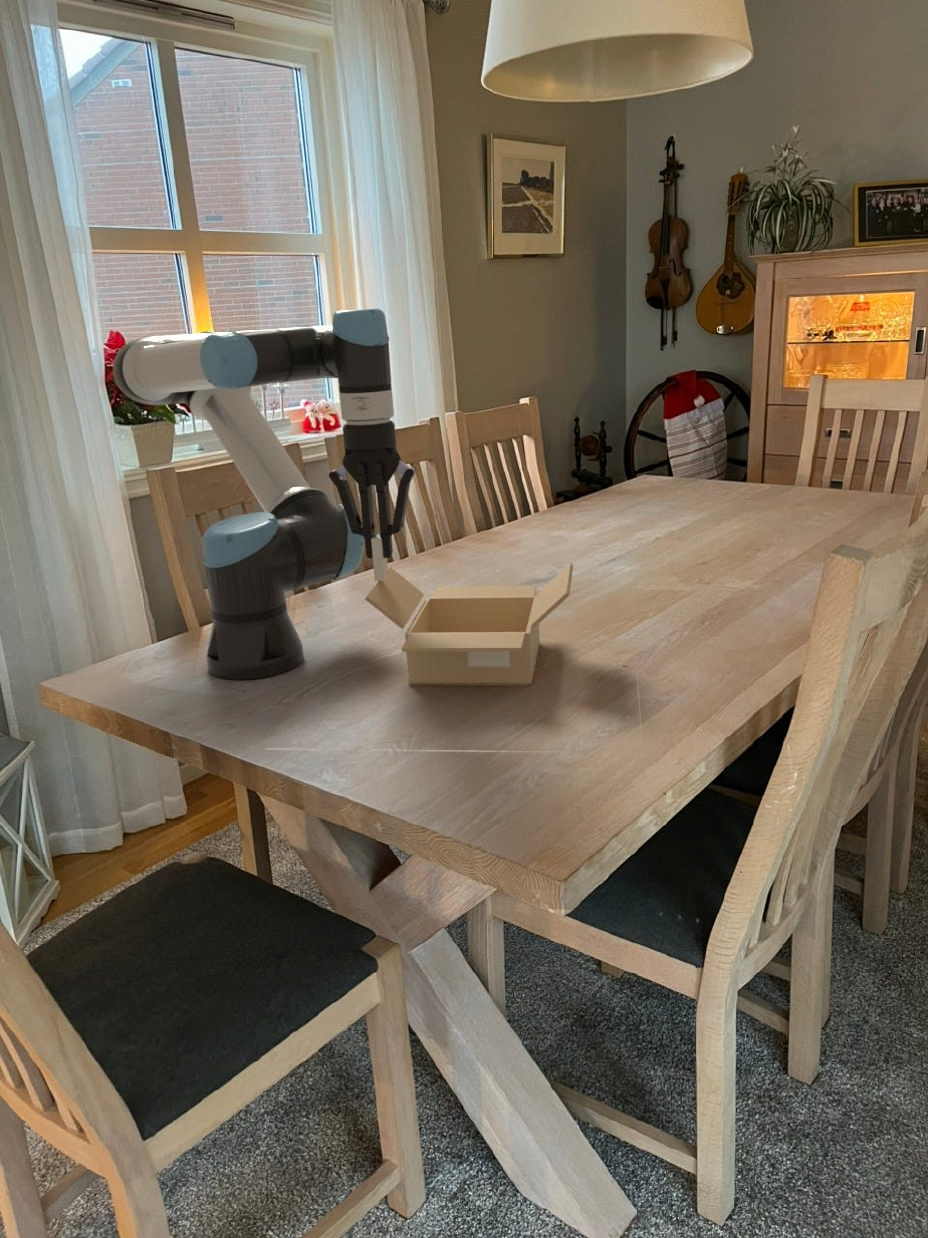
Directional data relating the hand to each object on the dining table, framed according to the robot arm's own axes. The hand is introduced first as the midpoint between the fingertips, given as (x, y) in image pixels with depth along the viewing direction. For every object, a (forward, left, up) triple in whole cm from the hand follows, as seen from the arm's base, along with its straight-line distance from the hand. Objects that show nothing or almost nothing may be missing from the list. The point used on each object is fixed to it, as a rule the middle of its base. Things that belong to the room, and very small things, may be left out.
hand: (381, 578), depth 147 cm
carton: (+14, 0, -14) cm, 20 cm away
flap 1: (+5, 0, -6) cm, 8 cm away
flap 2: (+23, 0, -6) cm, 24 cm away
